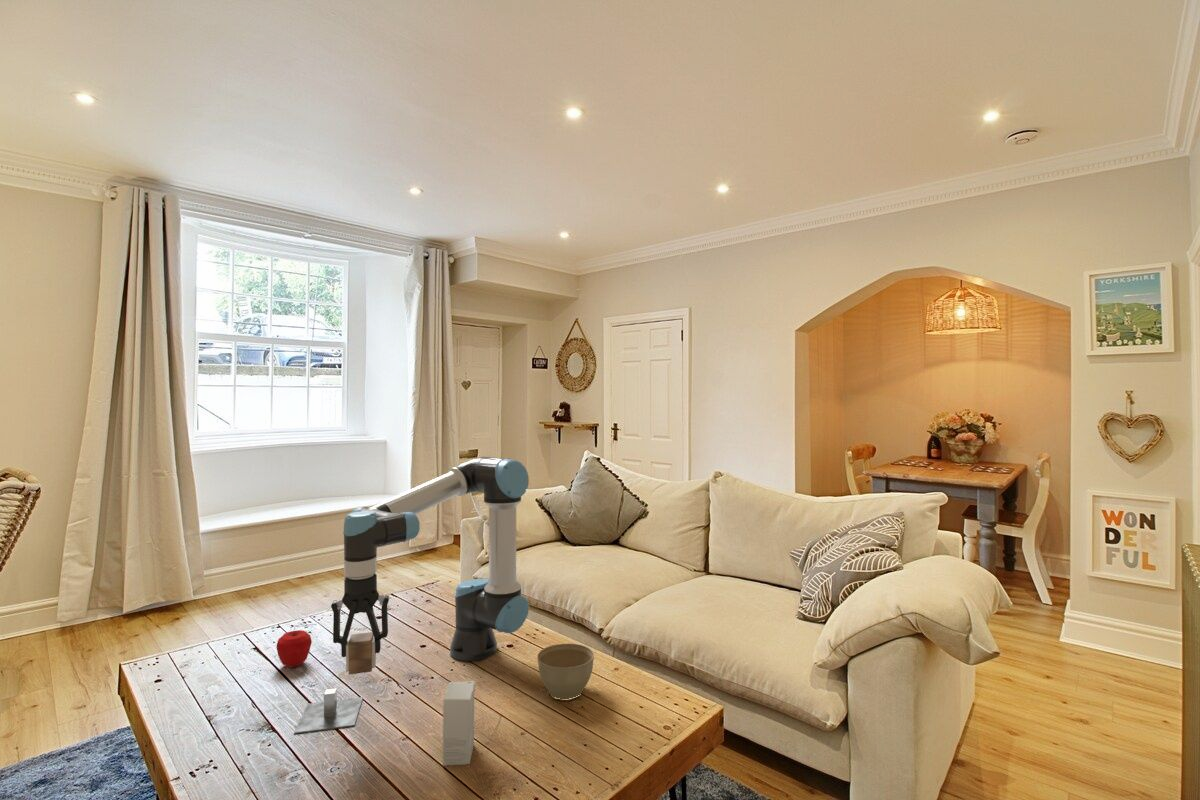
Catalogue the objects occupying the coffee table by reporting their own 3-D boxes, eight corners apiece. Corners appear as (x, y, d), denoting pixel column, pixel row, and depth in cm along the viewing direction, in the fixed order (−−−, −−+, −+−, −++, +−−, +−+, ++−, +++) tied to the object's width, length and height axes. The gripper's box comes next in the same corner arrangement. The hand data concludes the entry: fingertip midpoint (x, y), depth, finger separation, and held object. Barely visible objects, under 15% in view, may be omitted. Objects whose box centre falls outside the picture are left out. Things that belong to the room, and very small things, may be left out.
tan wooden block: (373, 662, 148) (373, 632, 147) (371, 671, 142) (371, 640, 142) (351, 665, 146) (351, 634, 146) (348, 674, 141) (348, 642, 141)
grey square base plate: (362, 698, 161) (362, 675, 161) (354, 726, 147) (354, 701, 147) (308, 705, 157) (307, 681, 157) (294, 734, 144) (294, 708, 144)
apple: (269, 669, 178) (269, 634, 178) (296, 656, 187) (295, 622, 187) (292, 674, 174) (292, 639, 174) (318, 661, 183) (318, 627, 183)
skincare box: (448, 745, 139) (448, 680, 139) (476, 743, 140) (475, 679, 140) (441, 767, 131) (441, 699, 131) (471, 765, 132) (471, 697, 131)
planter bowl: (603, 685, 168) (603, 648, 168) (578, 713, 153) (578, 672, 153) (555, 674, 175) (555, 638, 175) (526, 700, 160) (526, 660, 160)
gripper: (400, 567, 150) (400, 656, 150) (323, 573, 145) (324, 665, 145) (398, 576, 143) (398, 669, 143) (317, 582, 138) (318, 679, 138)
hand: (361, 667), depth 144 cm, fingers closed on tan wooden block, 5 cm apart
